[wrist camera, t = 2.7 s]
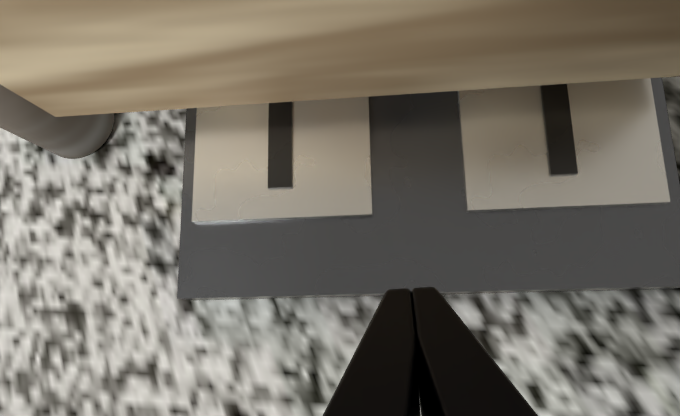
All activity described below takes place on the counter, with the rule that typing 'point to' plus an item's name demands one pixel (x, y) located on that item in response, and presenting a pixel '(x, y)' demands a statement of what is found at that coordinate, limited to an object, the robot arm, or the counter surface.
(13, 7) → the swing bar
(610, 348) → the counter surface
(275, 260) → the panel
